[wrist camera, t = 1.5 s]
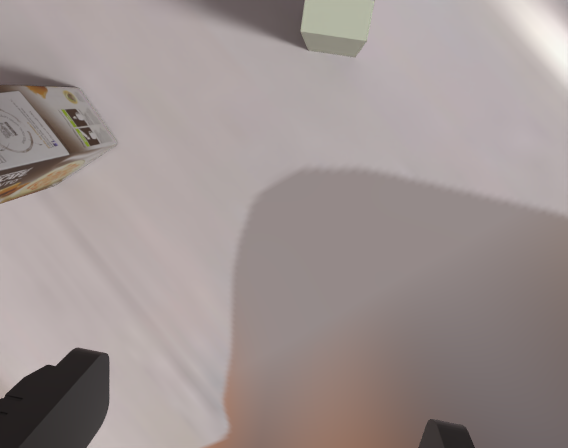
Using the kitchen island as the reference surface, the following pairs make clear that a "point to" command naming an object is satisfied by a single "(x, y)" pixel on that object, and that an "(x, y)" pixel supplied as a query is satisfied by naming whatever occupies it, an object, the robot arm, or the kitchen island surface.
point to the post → (336, 25)
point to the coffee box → (46, 137)
